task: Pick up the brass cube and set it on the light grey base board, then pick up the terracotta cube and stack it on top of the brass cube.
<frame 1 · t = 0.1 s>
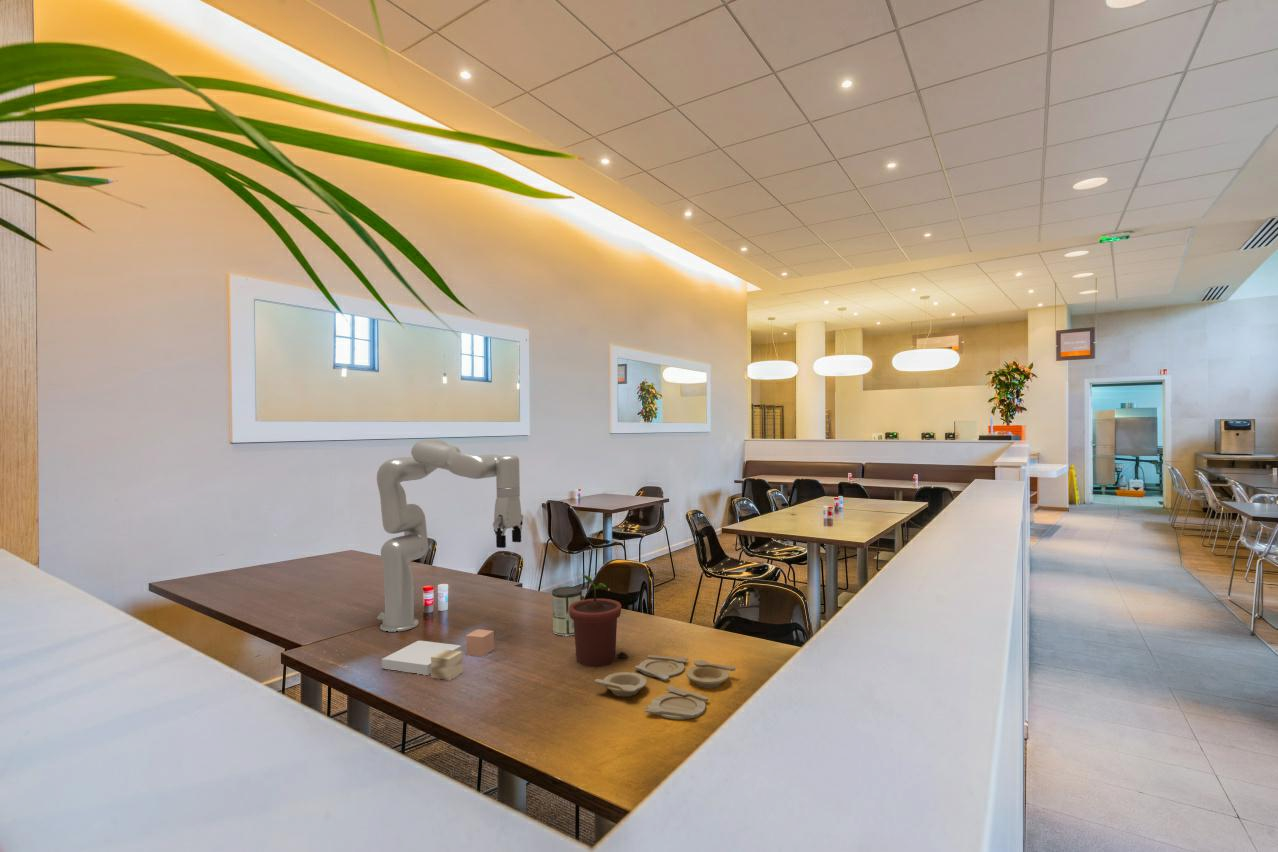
hand: (509, 544, 199), 31 cm above the table, tool pointing down, fingers open, 9 cm apart
coffee can: (567, 632, 206), on the table
potted plant: (599, 656, 183), on the table
terracotta cube: (480, 652, 188), on the table
grey base board: (422, 662, 180), on the table
tableware set: (668, 689, 160), on the table
brass cube: (446, 675, 170), on the table
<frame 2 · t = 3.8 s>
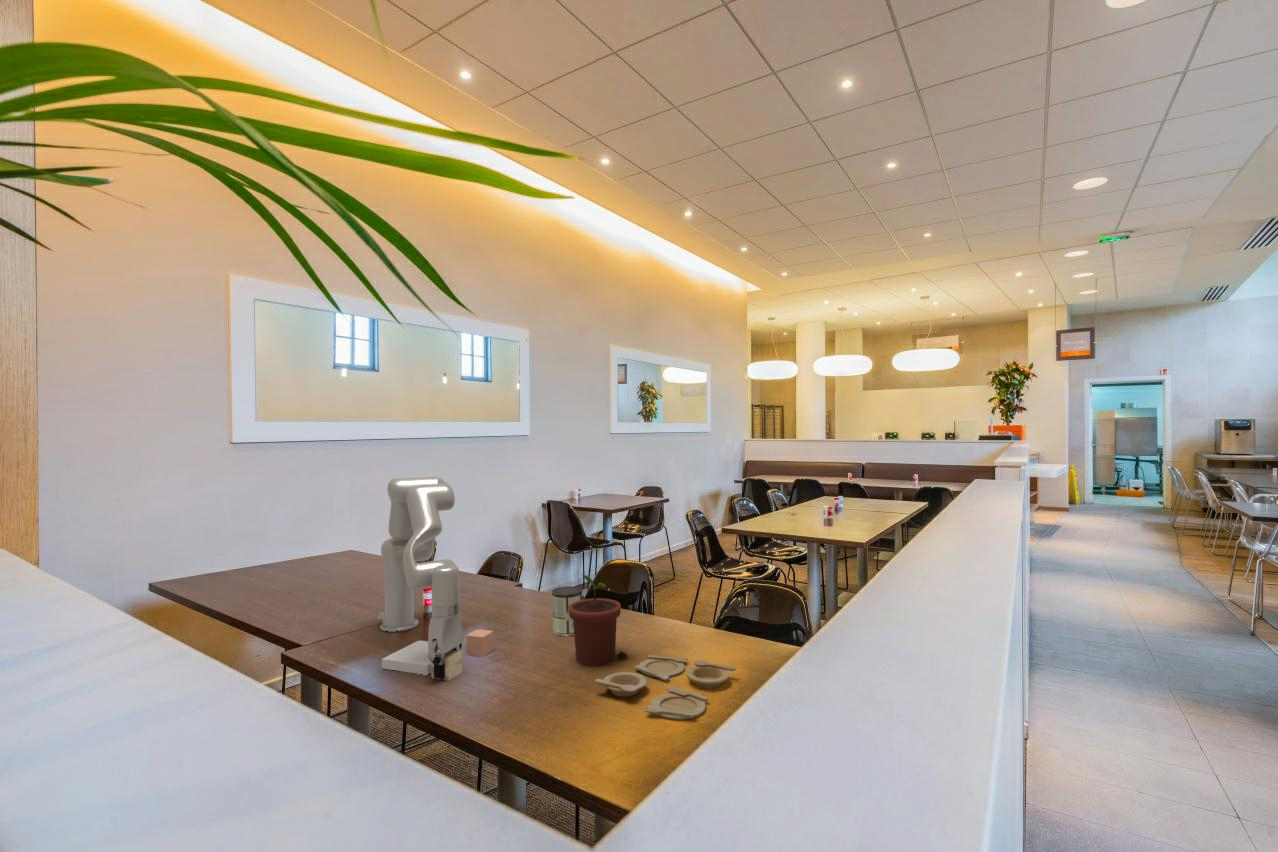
hand: (446, 672, 170), 1 cm above the table, tool pointing down, fingers closed on brass cube, 6 cm apart
brass cube: (447, 675, 170), on the table, touching gripper
everything else where it was.
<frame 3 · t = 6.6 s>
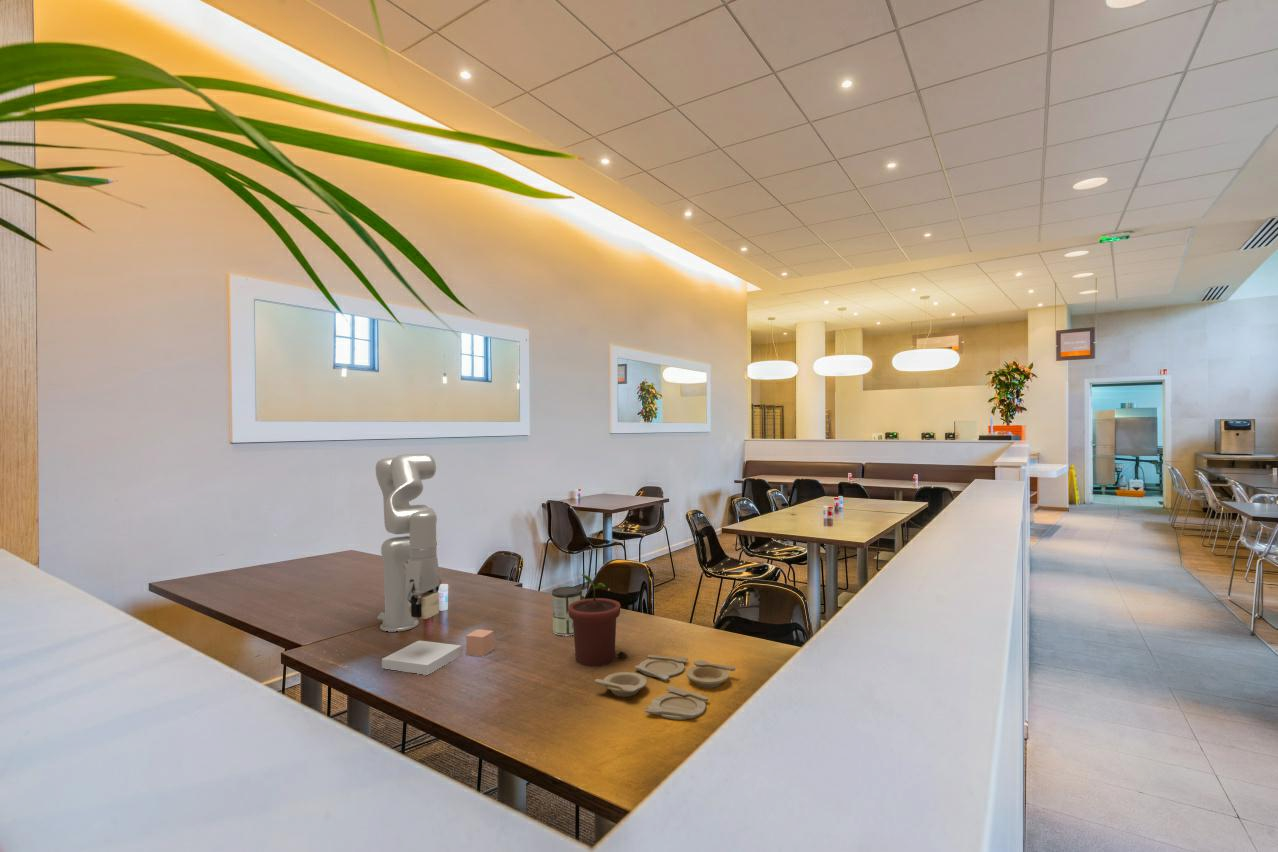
hand: (423, 612, 180), 15 cm above the table, tool pointing down, fingers closed on brass cube, 6 cm apart
brass cube: (424, 615, 180), point 14 cm above the table, touching gripper
everything else where it was.
when the fingers open (5 cm above the table, at t = 9.2 s): brass cube drops 1 cm, resting on grey base board.
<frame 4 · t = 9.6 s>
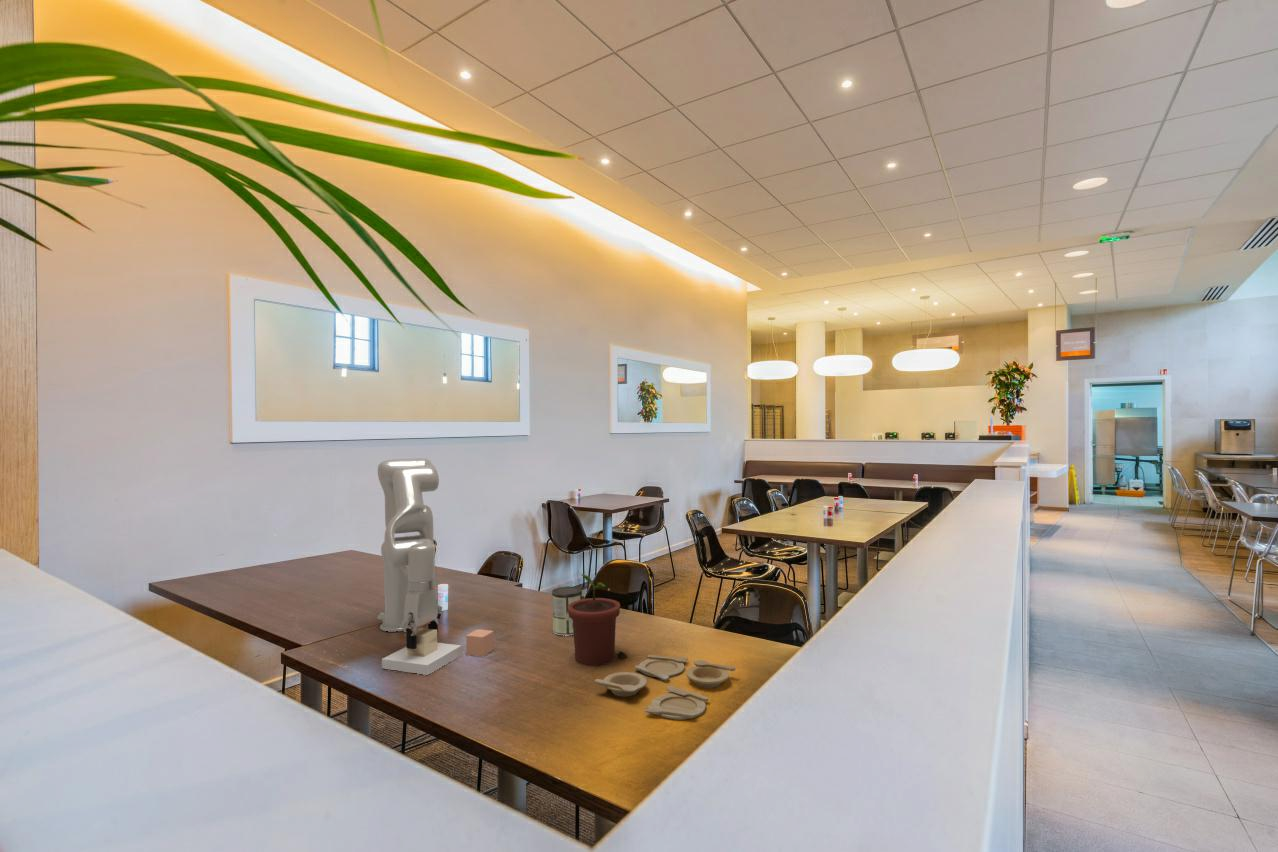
hand: (422, 642, 180), 6 cm above the table, tool pointing down, fingers open, 9 cm apart
brass cube: (422, 652, 180), point 3 cm above the table, touching grey base board
everything else where it was.
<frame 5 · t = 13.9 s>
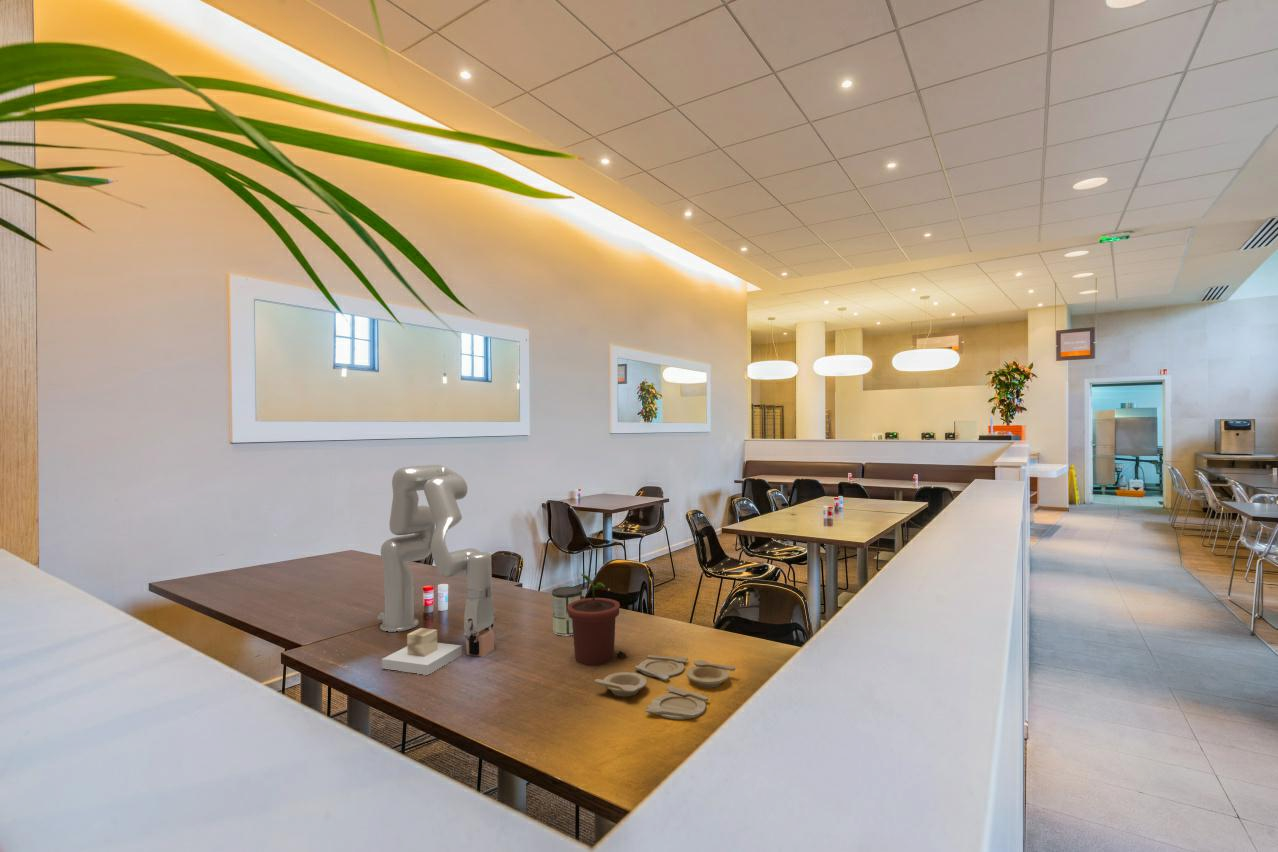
hand: (480, 649, 188), 1 cm above the table, tool pointing down, fingers closed on terracotta cube, 6 cm apart
terracotta cube: (480, 652, 188), on the table, touching gripper
everything else where it was.
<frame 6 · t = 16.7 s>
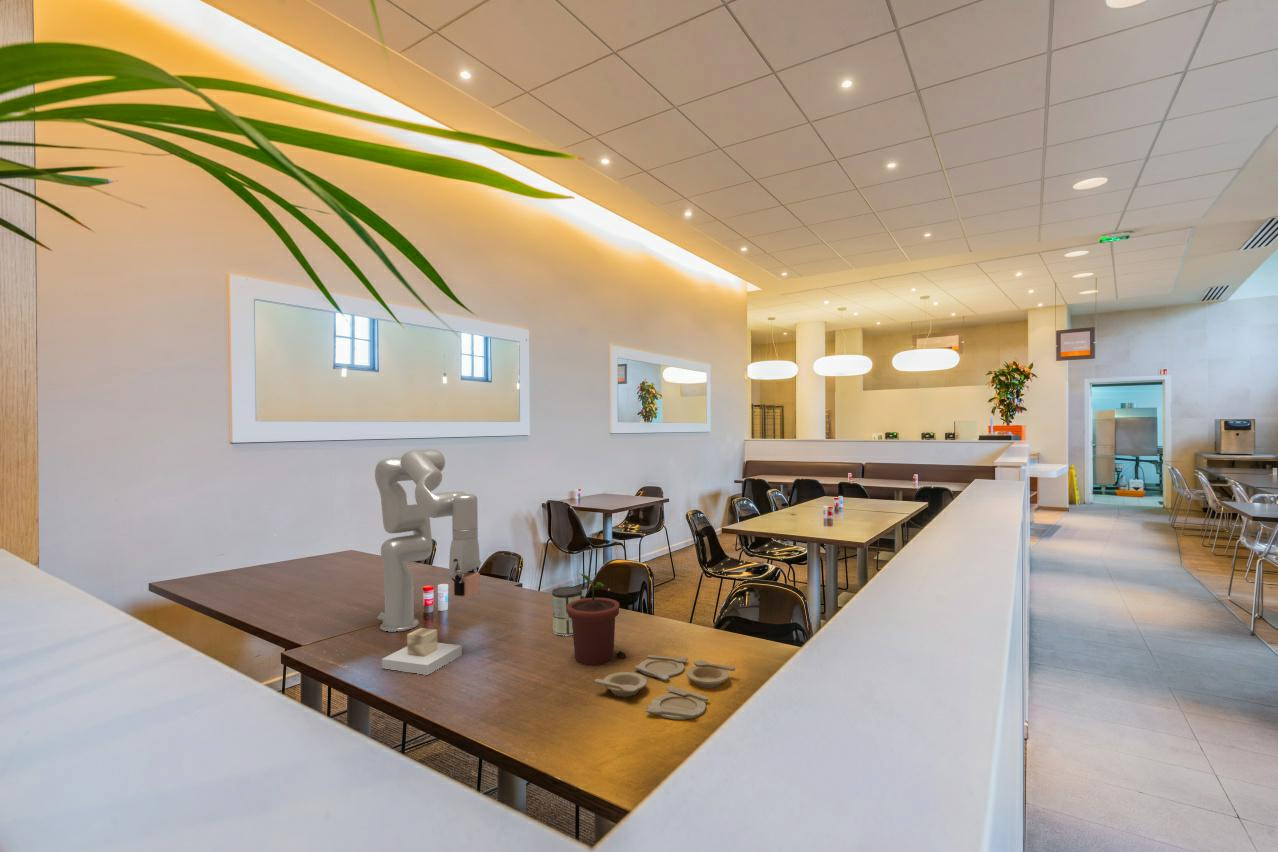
hand: (465, 591, 186), 19 cm above the table, tool pointing down, fingers closed on terracotta cube, 6 cm apart
terracotta cube: (466, 594, 186), point 19 cm above the table, touching gripper
when the fingers open (11 cm above the table, at t = 19.5 s): terracotta cube drops 1 cm, resting on brass cube.
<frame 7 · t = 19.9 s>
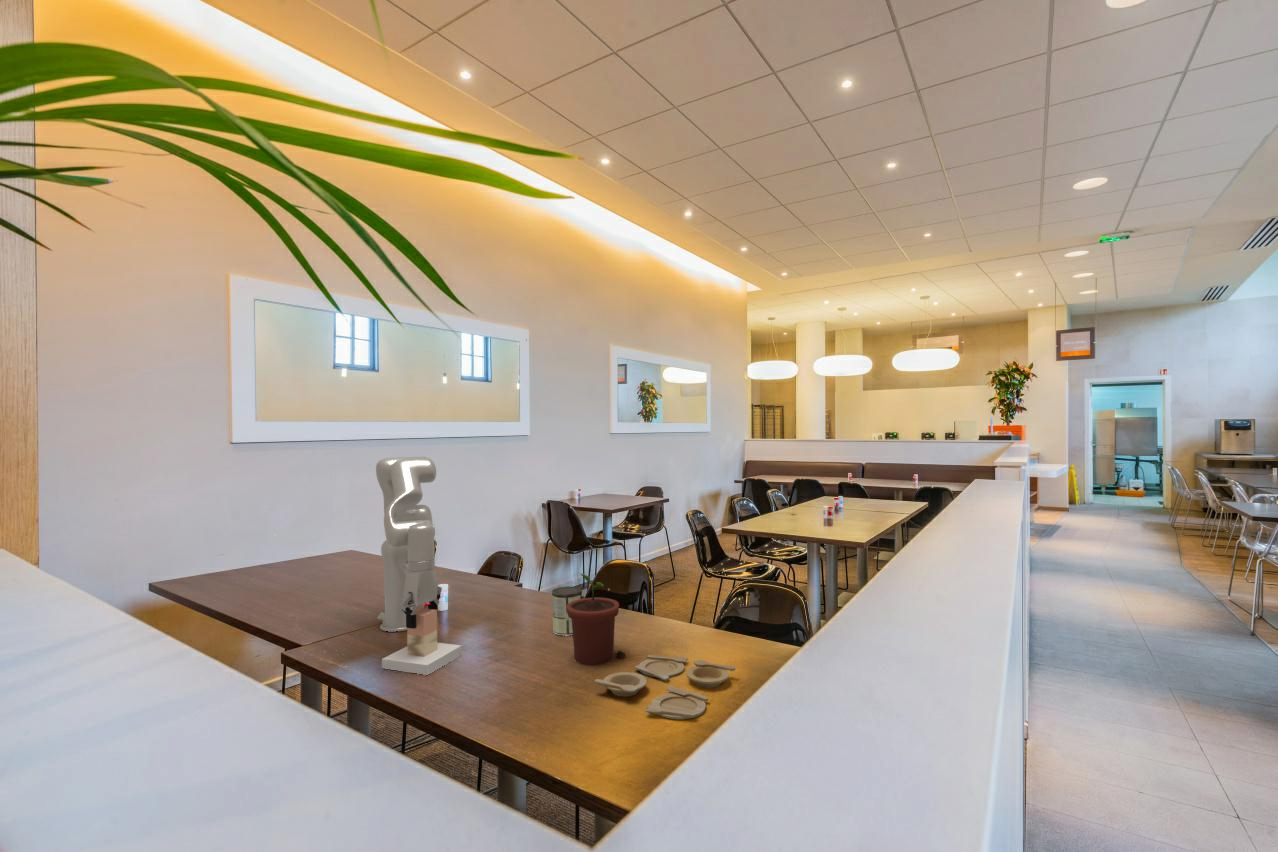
hand: (422, 622, 180), 12 cm above the table, tool pointing down, fingers open, 9 cm apart
terracotta cube: (422, 631, 180), point 9 cm above the table, touching brass cube
brass cube: (422, 652, 180), point 3 cm above the table, touching grey base board, terracotta cube
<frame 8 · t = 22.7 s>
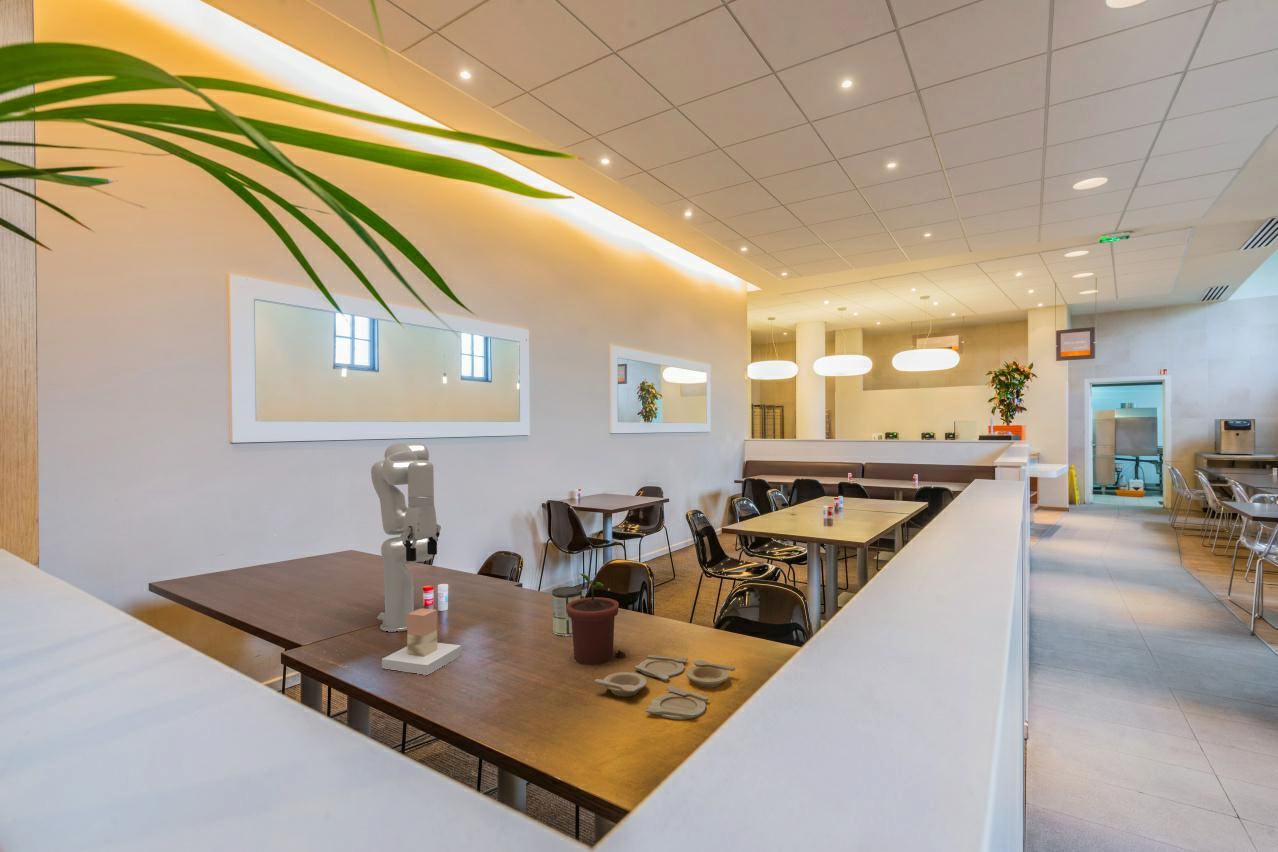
hand: (421, 557, 185), 30 cm above the table, tool pointing down, fingers open, 9 cm apart
at the end: brass cube inside the target area on the grey base board (0.0 cm from its centre), point 3.0 cm above the grey base board's base; terracotta cube 0.1 cm off-centre on the brass cube, point 6.0 cm above the brass cube's base; terracotta cube tilted 0° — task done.
